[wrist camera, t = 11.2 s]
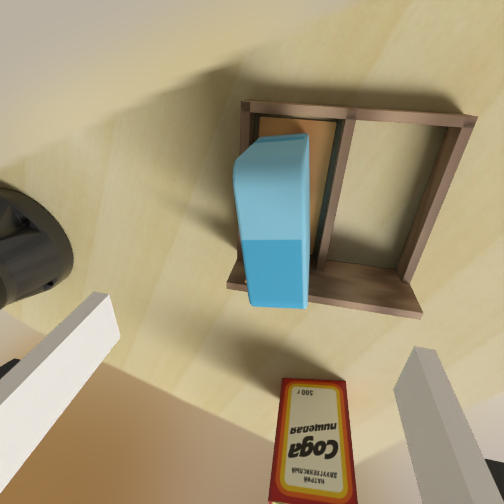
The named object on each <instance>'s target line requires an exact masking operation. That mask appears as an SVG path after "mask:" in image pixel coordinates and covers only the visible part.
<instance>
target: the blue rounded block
mask: <svg viewBox="0 0 504 504" xmlns="http://www.w3.org/2000/svg"><path fill="white" fill-rule="evenodd" d="M233 190H234V197H235V204H236V211H237V218H238V225H239V232H240V240H241V247H242V254H243V261H244V268H245V275H246V282H247V289H248V297H249V301H250V304H251V305H252V306H254V307H276V308H298V309H305V308H307V305H308V284H309V260H310V170H309V135H308V133H298V134H287V135H275V136H264V137H260V138H259V139H258V140H256V141H255V142H254V143H253V144H252V145H251V146H250V147H249V148H248V149H247V150H246V151H245V152H244V153H242V154H241V155H240V156H239V157H238V158H237V159H236V161H235V163H234V167H233Z"/></svg>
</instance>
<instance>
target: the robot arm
mask: <svg viewBox="0 0 504 504" xmlns="http://www.w3.org/2000/svg"><path fill="white" fill-rule="evenodd" d="M72 267H73V253H72V249H71V245H70V243H69V240H68V238H67V236H66V235H65V233H64V231H63V230H62V228H61V227H60V225H59V224H58V223H57V221H56V220H55V219H54V218H53V217H52V216H51V215H50V214H49V213H48V212H47V211H46V210H45V209H44V208H43V207H41V206H40V205H39V204H38V203H36V202H35V201H33V200H32V199H30V198H28V197H27V196H25V195H23V194H21V193H18V192H16V191H13V190H10V189H5V188H0V309H2V308H3V307H5V306H6V305H8V304H11V303H14V302H17V301H19V300H22V299H25V298H28V297H30V296H33V295H36V294H39V293H42V292H44V291H47V290H50V289H52V288H53V287H55V286H56V285H58V284H59V283H60V282H62V281H63V280H64V279H65V278H67V277H68V275H69V274H70V272H71V270H72ZM119 338H120V333H119V329H118V326H117V322H116V318H115V314H114V311H113V307H112V303H111V299H110V295H109V294H104V293H98V292H93V293H92V294H91V295H90V296H89V297H88V298H87V299H86V300H85V301H84V302H82V303H81V304H80V305H79V306H78V307H77V308H76V309H75V310H74V311H73V312H72V313H71V314H70V315H69V316H68V317H66V318H65V319H64V320H63V321H62V322H61V323H60V324H59V325H58V326H57V327H56V328H55V329H54V330H53V331H52V332H50V333H49V334H48V335H47V336H46V337H45V338H44V339H43V340H42V341H41V342H40V343H39V344H38V345H37V346H36V347H35V348H34V349H33V350H31V351H30V352H29V353H28V354H27V355H26V356H25V357H24V358H23V359H22V360H19V359H13V360H11V361H9V362H8V363H6V364H4V365H3V366H1V367H0V493H1V492H2V490H3V489H4V487H5V486H6V485H7V484H8V483H9V481H10V480H11V479H12V477H13V476H14V475H15V473H16V472H17V471H18V470H19V468H20V467H21V466H22V464H23V463H24V462H25V460H26V459H27V457H29V455H30V454H31V453H32V451H33V450H34V449H35V447H36V446H37V445H38V444H39V442H40V441H41V439H42V438H43V437H44V436H45V434H46V433H47V432H48V431H49V429H50V428H51V427H52V425H53V424H54V423H55V422H56V420H57V419H58V417H59V416H60V415H61V414H62V412H63V411H64V410H65V409H66V407H67V406H68V405H69V403H70V402H71V401H72V399H73V398H74V397H75V396H76V394H77V393H78V392H79V390H80V389H81V388H82V386H83V385H84V384H85V383H86V381H87V380H88V379H89V377H90V376H91V375H92V373H93V372H94V371H95V370H96V368H97V367H98V366H99V364H100V363H101V362H102V361H103V359H104V358H105V357H106V355H107V354H108V353H109V351H110V350H111V349H112V348H113V346H114V345H115V344H116V342H117V341H118V340H119ZM393 390H394V394H395V398H396V402H397V406H398V410H399V413H400V417H401V421H402V425H403V429H404V433H405V437H406V441H407V445H408V448H409V452H410V456H411V460H412V464H413V468H414V472H415V475H416V480H417V484H418V487H419V491H420V495H421V499H422V503H423V504H504V463H503V462H498V461H493V460H488V459H484V457H483V455H482V453H481V450H480V448H479V446H478V444H477V441H476V439H475V437H474V435H473V433H472V430H471V428H470V426H469V424H468V422H467V419H466V417H465V415H464V413H463V410H462V408H461V406H460V404H459V402H458V399H457V397H456V395H455V393H454V391H453V388H452V386H451V384H450V382H449V379H448V377H447V375H446V373H445V371H444V368H443V366H442V364H441V362H440V360H439V357H438V355H437V353H436V351H435V350H433V349H427V348H421V347H415V346H414V348H413V350H412V352H411V354H410V356H409V358H408V360H407V362H406V364H405V367H404V369H403V371H402V373H401V375H400V377H399V379H398V381H397V383H396V385H395V387H394V389H393Z"/></svg>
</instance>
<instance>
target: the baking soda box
mask: <svg viewBox="0 0 504 504" xmlns="http://www.w3.org/2000/svg"><path fill="white" fill-rule="evenodd" d="M268 502H269V504H358V502H357V491H356V481H355V471H354V460H353V450H352V440H351V430H350V420H349V410H348V400H347V390H346V381H334V380H313V379H292V378H282V385H281V393H280V402H279V411H278V419H277V428H276V437H275V445H274V455H273V463H272V472H271V480H270V488H269V497H268Z"/></svg>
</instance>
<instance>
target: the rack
mask: <svg viewBox="0 0 504 504" xmlns="http://www.w3.org/2000/svg"><path fill="white" fill-rule="evenodd" d="M255 113H267V114H281V115H295V116H309V117H323V118H337V119H343V121H342V126H341V131H340V137H339V142H338V147H337V152H336V157H335V163H334V168H333V173H332V178H331V184H330V189H329V194H328V199H327V205H326V210H325V215H324V220H323V225H322V231H321V236H320V241H319V246H318V252H317V257H316V258H310V260H309V284H308V302H313V303H319V304H326V305H332V306H338V307H344V308H350V309H357V310H363V311H369V312H375V313H381V314H388V315H394V316H400V317H406V318H413V319H419V320H420V319H421V317H422V315H423V311H422V309H421V307H420V305H419V303H418V301H417V299H416V296H415V294H414V292H413V290H412V288H411V286H410V282H411V279H412V277H413V275H414V272H415V270H416V267H417V265H418V262H419V260H420V258H421V255H422V253H423V250H424V248H425V245H426V243H427V240H428V238H429V236H430V233H431V231H432V228H433V226H434V223H435V221H436V218H437V216H438V214H439V211H440V209H441V206H442V204H443V201H444V199H445V196H446V194H447V192H448V189H449V187H450V184H451V182H452V179H453V177H454V175H455V172H456V170H457V167H458V165H459V162H460V160H461V157H462V155H463V153H464V150H465V148H466V145H467V143H468V140H469V138H470V135H471V133H472V131H473V128H474V126H475V123H476V121H477V118H478V117H477V116H472V115H467V114H457V113H442V112H426V111H411V110H396V109H380V108H365V107H350V106H334V105H319V104H303V103H288V102H273V101H257V100H244V101H241V130H240V155H241V154H242V153H244V152H245V151H246V150H247V149H248V148H249V147H250V146H251V145H252V144H253V143H254V127H255ZM356 120H365V121H379V122H394V123H408V124H422V125H436V126H449V127H448V129H447V132H446V135H445V138H444V140H443V143H442V146H441V148H440V151H439V154H438V157H437V159H436V162H435V165H434V167H433V170H432V173H431V176H430V178H429V181H428V184H427V186H426V189H425V192H424V195H423V197H422V200H421V203H420V206H419V208H418V211H417V214H416V216H415V219H414V222H413V225H412V227H411V230H410V233H409V235H408V238H407V241H406V244H405V246H404V249H403V252H402V255H401V257H400V260H399V263H398V265H397V268H396V270H395V269H387V268H380V267H373V266H366V265H359V264H352V263H344V262H337V261H330V260H326V258H327V253H328V249H329V244H330V239H331V234H332V230H333V225H334V220H335V216H336V211H337V206H338V202H339V197H340V192H341V187H342V183H343V178H344V173H345V169H346V164H347V159H348V154H349V150H350V145H351V140H352V136H353V131H354V126H355V122H356ZM336 123H337V122H331V121H317V120H303V119H289V118H276V117H262V116H260V124H259V138H260V137H264V136H275V135H287V134H298V133H308V135H309V170H310V255H313V249H314V244H315V238H316V233H317V227H318V222H319V216H320V211H321V206H322V200H323V195H324V189H325V184H326V178H327V173H328V167H329V162H330V156H331V151H332V145H333V140H334V134H335V129H336ZM227 289H232V290H239V291H245V292H248V289H247V282H246V275H245V268H244V261H243V254H242V247H241V240H240V232H239V225H238V248H237V261H236V263H235V265H234V267H233V269H232V272H231V274H230V276H229V278H228V280H227Z"/></svg>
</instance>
